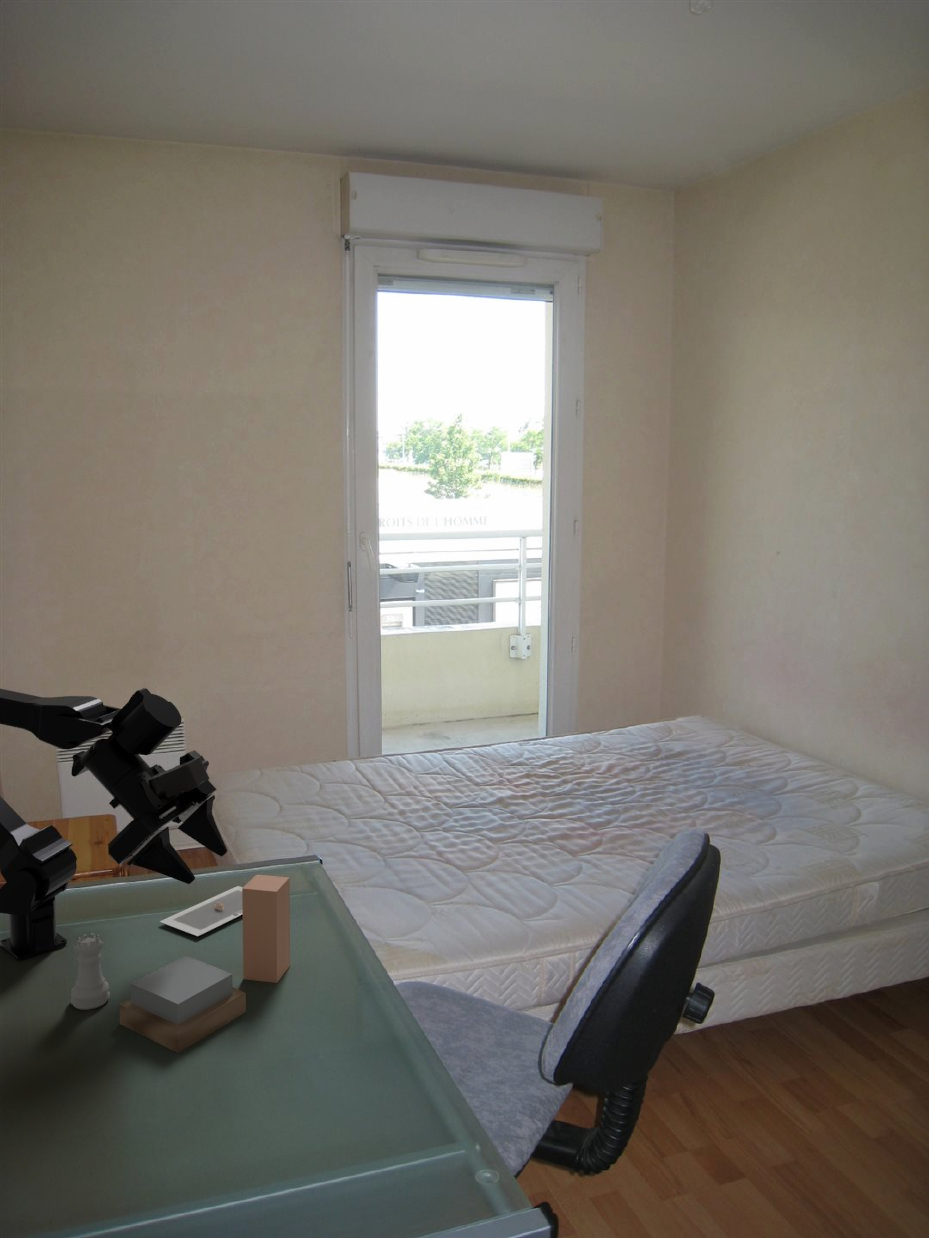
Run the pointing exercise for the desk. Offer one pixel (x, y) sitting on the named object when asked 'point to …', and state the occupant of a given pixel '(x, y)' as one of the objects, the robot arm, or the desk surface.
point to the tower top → (181, 989)
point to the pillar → (266, 928)
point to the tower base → (187, 1031)
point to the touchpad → (208, 913)
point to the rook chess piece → (89, 975)
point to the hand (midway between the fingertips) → (209, 867)
